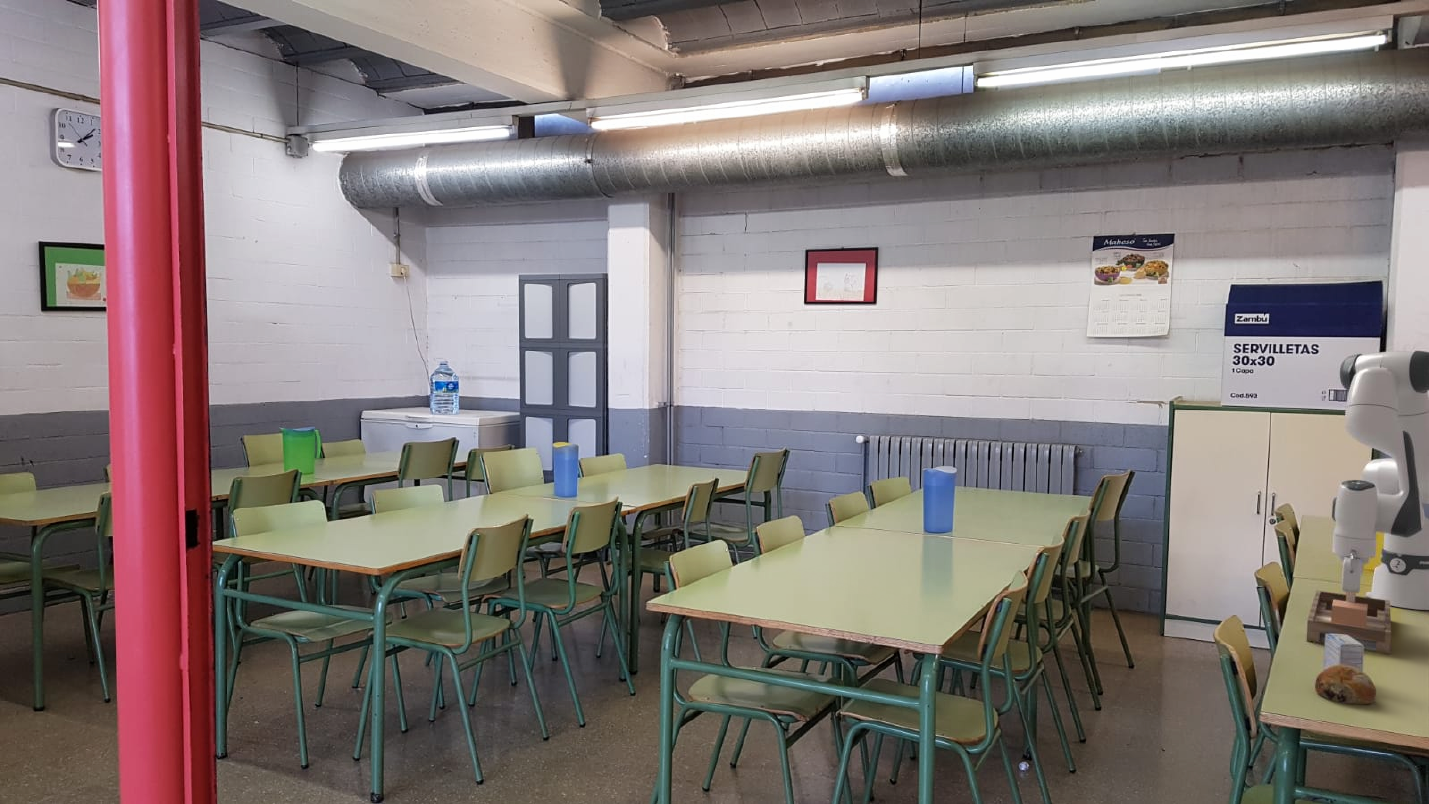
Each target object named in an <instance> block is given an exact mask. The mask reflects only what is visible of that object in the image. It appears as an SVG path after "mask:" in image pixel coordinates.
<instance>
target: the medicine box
mask: <svg viewBox="0 0 1429 804" xmlns="http://www.w3.org/2000/svg"><path fill="white" fill-rule="evenodd" d="M1364 653H1365V650H1364V646H1363V645H1362V644H1361V643H1359V642H1358V641H1356V640H1355V639H1353V638H1352V637H1350V636H1348V635H1344V634H1326V635H1325V644H1324V654H1323V670H1322V671H1324V670H1326V669H1327V668H1329V667H1332V666H1335V665H1348V666H1353V667H1356V668H1358V669H1359V670H1361V671H1363V672H1364Z"/></svg>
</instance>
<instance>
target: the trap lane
mask: <svg viewBox="0 0 1429 804" xmlns="http://www.w3.org/2000/svg"><path fill="white" fill-rule="evenodd" d="M1333 600H1340V601H1346V593H1337V592H1328V591H1322V590H1315V594H1314V597H1313V601H1312V604H1311V608H1310V610H1309V615H1308V617H1307V624H1306V625H1307V627H1306V640H1307V641H1306V642H1310V641H1313V642H1312V643H1316V642H1318V643H1317V644H1322V643H1324V645H1325V635H1326V634H1344V635H1348V636H1350V637H1352V638H1353V639H1355V640H1356V641H1358V642H1359V643H1361V644H1362V645H1363V646H1364V652H1365V651H1367V652H1372V653H1378V652H1379V654H1384V653H1385V654H1386V655H1390V654H1391V653H1390V652H1391V638H1392V635H1391V634H1392V627H1391V626H1392V625H1391V624H1392V621H1391V605H1390V600H1382V599H1375V598H1370V597H1368V596H1358V595H1356V596H1355V603H1361V604H1368V606H1367V621H1366V628H1365V627H1358V626H1352V625H1345V624H1339V623H1332V622H1331V614H1332V603H1333Z"/></svg>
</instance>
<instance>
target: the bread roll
mask: <svg viewBox="0 0 1429 804" xmlns="http://www.w3.org/2000/svg"><path fill="white" fill-rule="evenodd" d="M1314 683H1315V684H1314V688H1315V691H1316V693H1317V694H1318V695H1319V696H1321V697H1323V698H1324V699H1327V700H1330V701H1333V702H1336V703H1342V704H1348V705H1358V706H1364V705H1370V704H1372V703H1374V702H1375V701H1376V697H1377V688H1376V685H1375V684H1374V682H1373V681H1372V679H1371V678H1370V677H1369V675H1367V674H1366V672H1364V670H1363V671H1361V670H1359V669H1358V668H1356V667H1353V666H1348V665H1335V666H1332V667H1329V668H1327V669H1326V670H1324V671H1323V670H1322V671H1321V672H1320V673H1318V675H1317V677H1316V680H1315V682H1314Z"/></svg>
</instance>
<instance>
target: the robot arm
mask: <svg viewBox="0 0 1429 804" xmlns="http://www.w3.org/2000/svg"><path fill="white" fill-rule="evenodd" d="M1339 379H1340V382H1341V386H1342V387H1343V388H1344V389H1345V390H1346V391H1347V392H1348V394H1347V397H1346V405H1345V413H1344V414H1345V415H1344V421H1345V422H1344V424H1345V429H1346V431H1347V432H1348V434H1349V435H1350V436H1351V437H1352V438H1353V440H1356V441H1357V442H1359V443H1360V444H1362V445H1364V446H1367V447H1369V448H1372V449H1374V450H1377V451H1379V452H1382V453H1383V454H1386V455H1388V458H1387V457H1386V458H1376V459H1375V458H1374V459H1372V460H1370V461H1369V462H1368V463H1367V464H1366V465H1365V466H1364V468H1363V470H1362V474H1361V480H1360V479H1351V480H1350V479H1349V480H1348V479H1347V480H1344V481H1342V482H1341V483H1340V484H1339V486H1338V490H1337V494H1336V497H1334V498H1333V499H1332V509H1331V519H1332V521H1334V523H1335V527H1334V530H1333V535H1332V551H1331V552H1332V553H1333V554H1334V555H1337V560H1338V561H1339V562H1342V573H1341V576H1342V577H1341V591H1342V592H1345V594H1346V601H1347V602H1354V603H1355V596H1357V595H1356V594H1358V593H1360V591H1361V584H1362V578H1363V572H1364V568H1365V565H1367V564H1369V562H1370V561H1369V560H1370V559H1373V558H1375V557H1376V553H1377V552H1376V551H1377V549H1376V548H1377V539H1378V538H1377V534H1378V533H1381V534H1383V537H1384V538H1383V548H1382V549H1381V552H1380V562H1381V563H1380V564H1379V565H1378V566H1376V567H1375V568H1374V573H1373V579H1372V586H1371V591H1366V592H1365V597H1368V598H1375V599H1382V600H1390V607H1391V606H1393V607H1397V608H1402V609H1410V610H1423V611H1425V610H1426V611H1429V518H1428V517H1426V516H1425V515H1426V514H1425V510H1424V506H1423V504H1427V505H1429V393H1428V391H1429V351H1423V350H1415V351H1412V350H1411V351H1409V350H1407V351H1405V350H1387V351H1382V352H1381V351H1380V352H1373V353H1371V352H1370V353H1366V354H1362V353H1357V354H1354V355H1350V356H1347V357H1346V358H1345V359H1344V360H1343V361H1342V362H1341V365H1340V368H1339Z"/></svg>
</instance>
